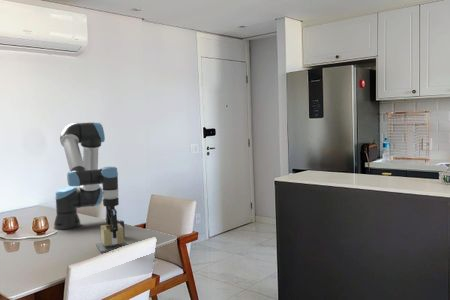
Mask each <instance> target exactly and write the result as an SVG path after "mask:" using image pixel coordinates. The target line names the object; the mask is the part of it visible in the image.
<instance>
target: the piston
mask: <svg viewBox="0 0 450 300" xmlns="http://www.w3.org/2000/svg"><path fill="white" fill-rule="evenodd" d="M95 245H96V247H97V249H98V251H99V252H100V254H104V253H105V252H106V253H109V252H108V251H111V250H114V249H117V248H119V247H122V246H125V245H129V244H128V243H127V242H126V241H125V240H124V243H122V244H115V245H109V246H104V245H103V243H102V242H98V243H95Z"/></svg>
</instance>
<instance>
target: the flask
mask: <svg viewBox="0 0 450 300" xmlns="http://www.w3.org/2000/svg"><path fill="white" fill-rule="evenodd" d="M117 223H119V224H120V225H121V226H122V227H123V230H124V231H125V221H124V220H120V219H119V220H118V219H117ZM124 237H125V233H124Z"/></svg>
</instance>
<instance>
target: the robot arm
mask: <svg viewBox="0 0 450 300" xmlns="http://www.w3.org/2000/svg"><path fill="white" fill-rule="evenodd" d="M105 139H106V138H105V131H104V127H103V125H102V123H100V122H94V121H93V122H72V123H70V124H68V125H66V126H65V127H64V128H63V129H62V131H61V133H60V136H59V141H60V144H61V146H62V147H63V149H64V153H65V158H66V161H67V165H68V168H69V171H68V172H67V175H66V178H67V180H66V181H67V184H68V186H67V187H62V188H59V189H57V190H56V192H55V206H56V207H55V209H56V210H55V211H56V216H55V220H54V222H53V228H54V229H55V228H56V229H55V230H71V229H75V228H78V227H80V226H81V220H80V216H79V214H78V208H80V209H82V208H90V207H97V206H99V205H101V203H102V204H103V207H105V214H106V215H105V217H106V218H105V219H106V220H105V225H110V224H111V229H112V230H111V231H110V232H111V240H112V245H113V244H117V231H118V225H117V220H118V216H117V209H116V208H115V207H117V206H119V179H118V178H119V177H118V175H119V172H118V168H117V167H116V166H104V167H101V168H99V149H100V148H101V146H102V143H105ZM79 144H80V146H81V147H82V148H83V151H82V153H81V150H80V146H79ZM82 154H83V156H82ZM100 185H102V186H100ZM76 187H79V188H76ZM114 228H115V229H114Z"/></svg>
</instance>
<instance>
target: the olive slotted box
mask: <svg viewBox="0 0 450 300" xmlns="http://www.w3.org/2000/svg"><path fill="white" fill-rule="evenodd" d="M117 225H118V231H117V244H122V243H124V241H125V239H124V238H125V236H124V234H125V229H124V230H123V227H122V226H121V225H120V224H119V223H117ZM114 229H115V228H114ZM111 230H112V229H111V224H110V225H107V224H103V225H100V241H101V242H100V243H103V245H104V246H109V245H112V240H111V232H110V231H111ZM113 245H115V244H113Z"/></svg>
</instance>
